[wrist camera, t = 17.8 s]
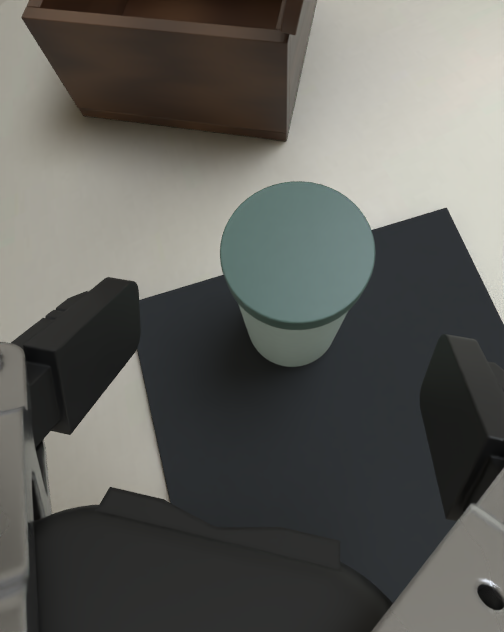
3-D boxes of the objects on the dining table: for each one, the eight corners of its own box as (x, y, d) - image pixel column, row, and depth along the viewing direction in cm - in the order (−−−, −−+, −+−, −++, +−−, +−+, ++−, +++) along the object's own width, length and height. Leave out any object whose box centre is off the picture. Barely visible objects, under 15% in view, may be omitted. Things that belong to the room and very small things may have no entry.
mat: (214, 691, 20) (212, 697, 19) (130, 305, 25) (127, 303, 25) (615, 566, 20) (623, 569, 20) (443, 211, 26) (447, 207, 25)
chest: (82, 116, 30) (20, 17, 23) (131, -17, 33) (90, -139, 26) (286, 141, 28) (287, 43, 21) (317, -2, 31) (327, -129, 24)
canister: (260, 381, 23) (244, 344, 14) (234, 295, 25) (202, 206, 15) (352, 353, 23) (400, 295, 14) (319, 268, 25) (343, 162, 15)
